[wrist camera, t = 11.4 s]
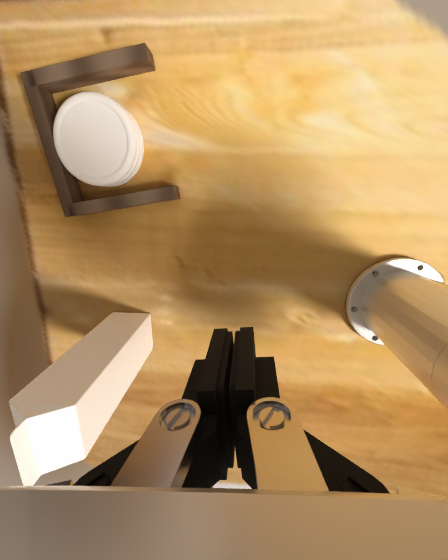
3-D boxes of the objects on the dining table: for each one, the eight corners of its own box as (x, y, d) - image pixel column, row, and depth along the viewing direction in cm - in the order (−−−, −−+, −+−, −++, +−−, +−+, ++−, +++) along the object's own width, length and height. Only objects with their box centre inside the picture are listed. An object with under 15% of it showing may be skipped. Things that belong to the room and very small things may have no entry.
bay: (152, 55, 31) (144, 42, 28) (180, 198, 35) (175, 198, 33) (36, 82, 32) (20, 72, 30) (77, 215, 37) (65, 217, 34)
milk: (117, 345, 42) (-11, 491, 21) (112, 310, 41) (-31, 432, 20) (154, 347, 42) (61, 498, 21) (151, 312, 40) (47, 438, 19)
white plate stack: (147, 188, 35) (137, 187, 32) (74, 185, 36) (57, 184, 32) (143, 101, 32) (131, 90, 29) (64, 100, 33) (44, 88, 29)
